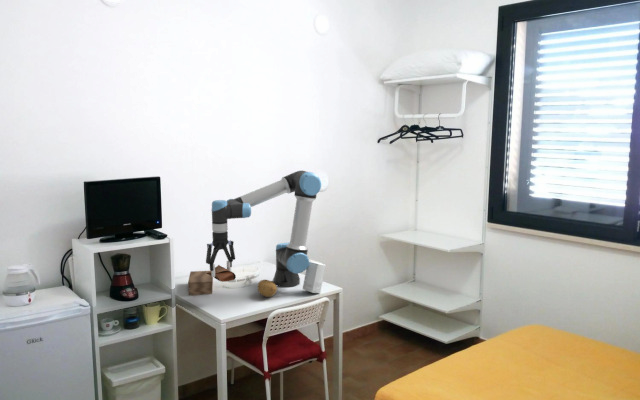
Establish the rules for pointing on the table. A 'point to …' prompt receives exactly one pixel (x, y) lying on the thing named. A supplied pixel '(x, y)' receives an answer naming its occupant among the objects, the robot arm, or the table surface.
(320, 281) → the skincare box
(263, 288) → the potato
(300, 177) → the robot arm
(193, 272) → the walnut box
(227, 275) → the sunglasses case
